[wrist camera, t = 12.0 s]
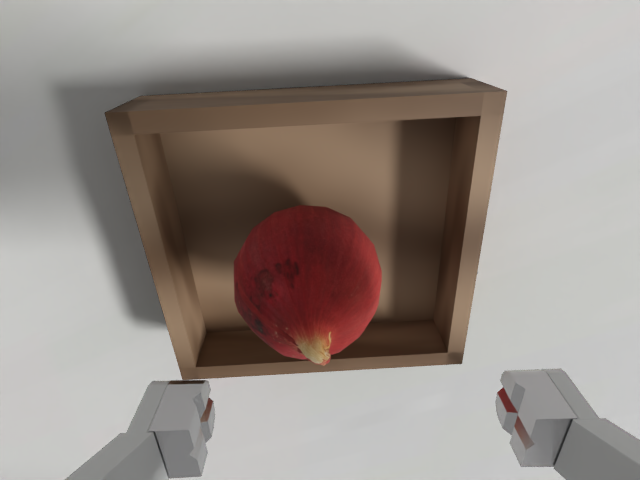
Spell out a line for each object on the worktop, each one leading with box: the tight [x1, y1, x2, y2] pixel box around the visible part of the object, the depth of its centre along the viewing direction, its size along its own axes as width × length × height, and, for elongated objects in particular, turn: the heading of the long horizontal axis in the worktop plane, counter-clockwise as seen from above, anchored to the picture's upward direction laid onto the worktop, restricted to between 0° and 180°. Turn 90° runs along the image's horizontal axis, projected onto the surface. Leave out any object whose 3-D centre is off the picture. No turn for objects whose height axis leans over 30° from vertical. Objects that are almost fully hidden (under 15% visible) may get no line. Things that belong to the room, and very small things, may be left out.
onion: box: [234, 205, 382, 366], centre depth 16 cm, size 6×6×8 cm
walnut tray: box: [105, 78, 507, 380], centre depth 19 cm, size 13×14×4 cm
